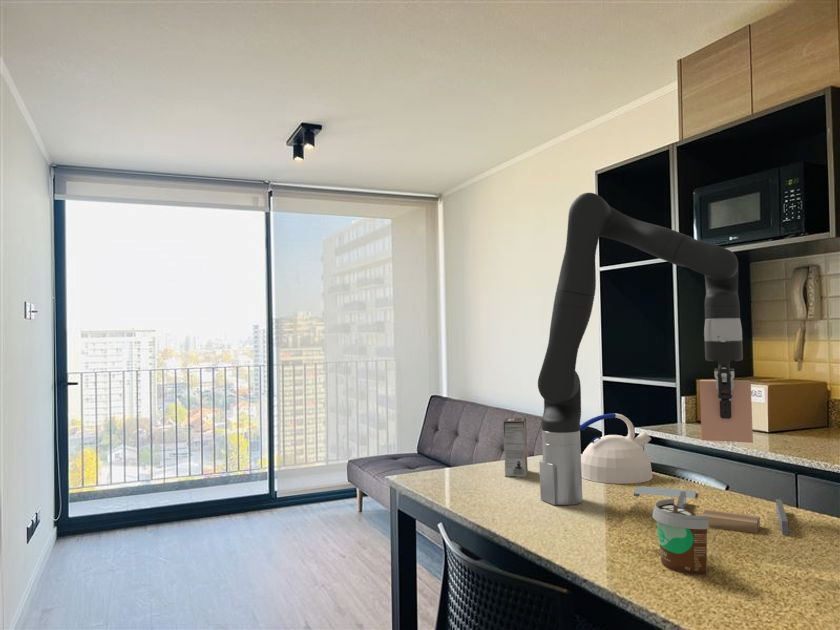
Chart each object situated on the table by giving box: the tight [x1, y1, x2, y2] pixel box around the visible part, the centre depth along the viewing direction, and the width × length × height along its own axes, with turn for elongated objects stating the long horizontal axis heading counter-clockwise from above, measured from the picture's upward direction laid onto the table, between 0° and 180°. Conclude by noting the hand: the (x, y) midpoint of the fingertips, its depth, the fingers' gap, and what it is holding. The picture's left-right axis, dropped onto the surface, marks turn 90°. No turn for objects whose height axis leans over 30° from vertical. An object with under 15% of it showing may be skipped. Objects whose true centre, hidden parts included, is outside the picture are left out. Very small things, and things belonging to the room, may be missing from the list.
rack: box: [676, 491, 790, 537], centre depth 131 cm, size 18×20×4 cm
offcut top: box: [700, 509, 761, 534], centre depth 125 cm, size 5×10×2 cm, turn 56°
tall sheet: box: [699, 379, 754, 444], centre depth 137 cm, size 4×10×13 cm, turn 63°
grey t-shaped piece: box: [633, 485, 697, 499], centre depth 156 cm, size 8×14×1 cm, turn 63°
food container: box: [652, 498, 710, 576], centre depth 108 cm, size 12×6×10 cm, turn 5°
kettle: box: [580, 412, 653, 485], centre depth 179 cm, size 20×21×18 cm
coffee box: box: [502, 417, 528, 478], centre depth 185 cm, size 9×6×16 cm
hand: (725, 416), depth 137 cm, fingers closed on tall sheet, 4 cm apart
